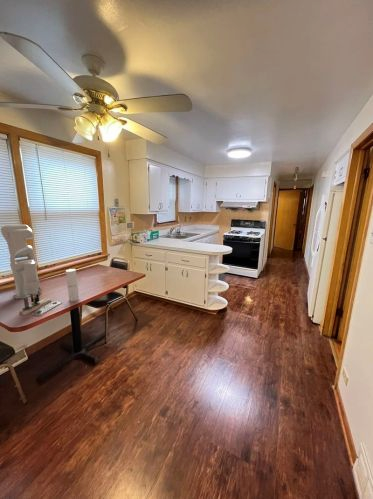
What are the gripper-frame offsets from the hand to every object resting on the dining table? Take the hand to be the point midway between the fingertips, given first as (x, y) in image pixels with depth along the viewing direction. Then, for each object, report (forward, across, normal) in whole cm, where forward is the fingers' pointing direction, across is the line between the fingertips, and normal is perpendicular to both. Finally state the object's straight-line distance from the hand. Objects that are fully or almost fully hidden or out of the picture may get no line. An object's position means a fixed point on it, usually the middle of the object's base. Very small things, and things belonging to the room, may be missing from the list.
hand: (35, 301), depth 157 cm
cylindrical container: (+5, +18, +18) cm, 26 cm away
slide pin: (+2, 0, 0) cm, 2 cm away
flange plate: (+5, +10, 0) cm, 11 cm away
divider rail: (+5, 0, 0) cm, 5 cm away
